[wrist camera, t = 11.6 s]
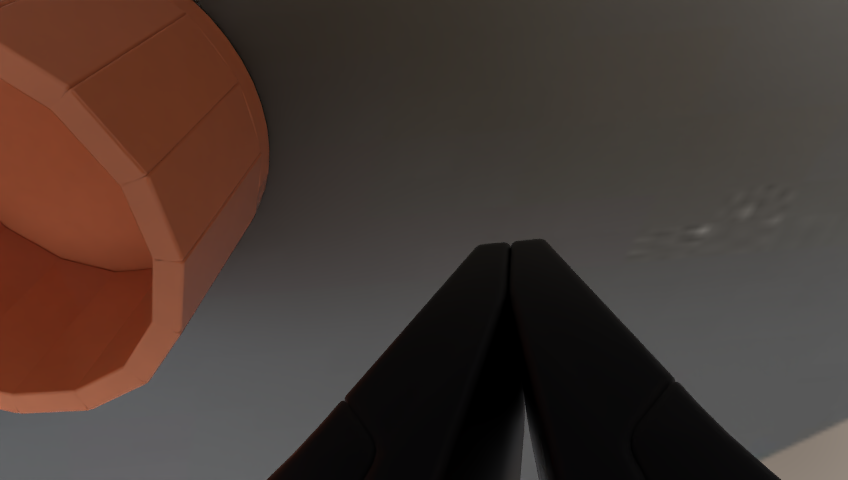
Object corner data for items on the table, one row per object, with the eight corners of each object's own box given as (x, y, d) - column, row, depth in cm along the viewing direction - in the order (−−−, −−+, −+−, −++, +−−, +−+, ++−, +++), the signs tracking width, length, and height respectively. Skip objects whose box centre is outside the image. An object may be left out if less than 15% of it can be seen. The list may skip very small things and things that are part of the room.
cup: (308, 256, 19) (243, 404, 14) (25, 281, 20) (-117, 421, 16) (201, -96, 14) (54, -49, 10) (-152, -29, 16) (-424, 39, 11)
